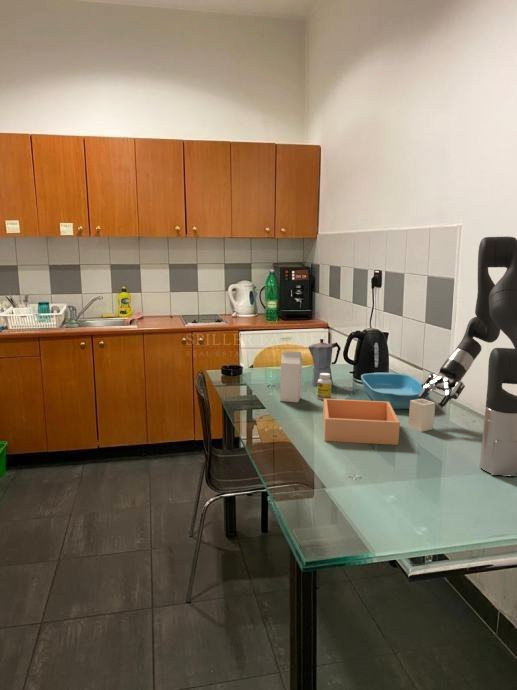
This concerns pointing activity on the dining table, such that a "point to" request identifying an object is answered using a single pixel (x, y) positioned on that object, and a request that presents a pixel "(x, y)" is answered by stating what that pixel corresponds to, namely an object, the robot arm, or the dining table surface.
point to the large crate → (360, 421)
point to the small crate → (421, 415)
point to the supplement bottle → (324, 386)
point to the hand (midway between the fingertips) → (429, 402)
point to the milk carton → (290, 376)
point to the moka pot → (322, 359)
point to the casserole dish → (392, 388)
